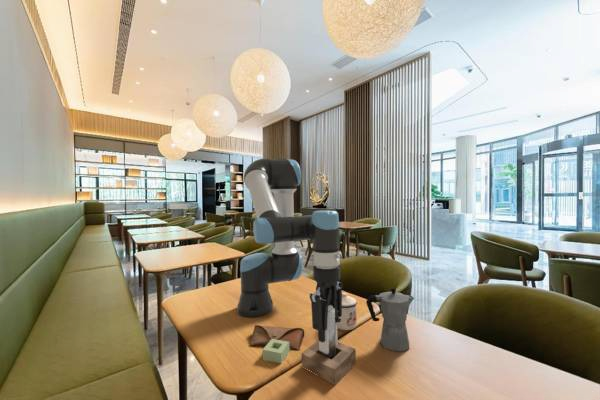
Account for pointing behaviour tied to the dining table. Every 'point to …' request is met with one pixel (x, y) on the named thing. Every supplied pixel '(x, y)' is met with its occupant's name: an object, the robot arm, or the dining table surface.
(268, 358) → the pale green holed block
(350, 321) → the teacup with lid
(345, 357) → the brown square holed block
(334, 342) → the silver metal cylinder
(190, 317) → the dining table surface
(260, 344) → the sunglasses case
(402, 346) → the coffeepot
